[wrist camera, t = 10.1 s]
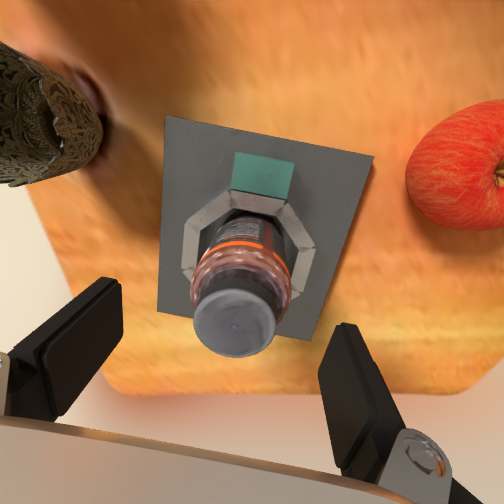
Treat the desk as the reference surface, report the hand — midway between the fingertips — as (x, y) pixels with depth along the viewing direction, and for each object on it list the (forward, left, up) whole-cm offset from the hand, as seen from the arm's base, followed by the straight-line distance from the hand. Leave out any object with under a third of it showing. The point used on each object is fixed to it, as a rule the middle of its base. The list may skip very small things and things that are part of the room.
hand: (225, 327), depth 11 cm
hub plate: (+1, 0, -13) cm, 13 cm away
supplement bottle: (+1, 0, -12) cm, 12 cm away
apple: (-9, +14, -14) cm, 21 cm away
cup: (-6, -15, -14) cm, 21 cm away
